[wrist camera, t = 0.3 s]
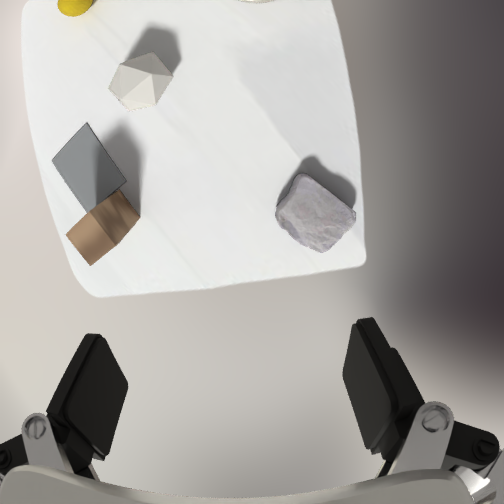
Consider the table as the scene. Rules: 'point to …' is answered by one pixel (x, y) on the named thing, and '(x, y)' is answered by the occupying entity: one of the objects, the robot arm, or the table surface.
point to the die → (140, 81)
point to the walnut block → (103, 227)
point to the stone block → (314, 214)
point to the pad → (88, 169)
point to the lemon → (74, 7)
